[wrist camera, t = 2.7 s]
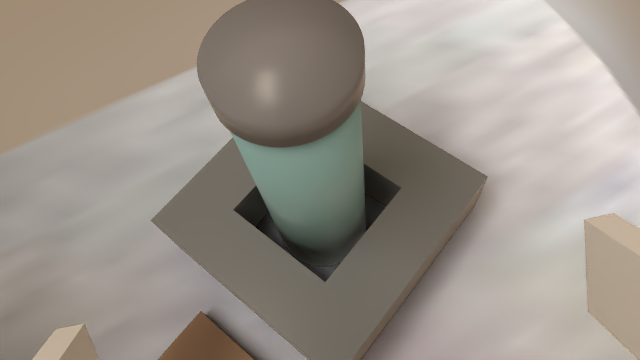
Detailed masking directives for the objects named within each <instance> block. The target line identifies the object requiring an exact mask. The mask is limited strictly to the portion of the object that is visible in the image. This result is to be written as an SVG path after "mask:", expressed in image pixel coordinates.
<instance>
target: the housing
mask: <svg viewBox="0 0 640 360" xmlns="http://www.w3.org/2000/svg"><path fill="white" fill-rule="evenodd" d="M361 115H362V139H363V164H364V188H365V192H366V193H367V194H369V195H370V196H371V197H373V198H374V199H376V200H377V201H379V202H380V203H382V204H383V205H385V206H386V208H385V209H384V210H383V211H382V213H381V214H380V215H379V216H378V218H377V219H376V220H375V221H374V223H373V224H372V225H371V226H370V227H369V229H368V230H367V231H366V232H365V234H364V235H363V236H362V237H361V239H360V240H359V241H358V242H357V244H356V245H355V246H354V247H353V248H352V250H351V251H350V252H349V253H348V255H347V256H346V257H345V258H344V260H343V261H342V262H341V263H340V265H339V266H338V267H337V268H336V269H335V271H334V272H333V273H332V274H331V276H330V277H329V278H328V279H327V281H326V282H324V281H323V280H322V279H321V278H319V277H318V276H317V275H315V274H314V273H313V272H312V271H310V270H309V269H308V268H307V267H305V266H304V265H303V264H301V263H300V262H299V261H298V260H296V259H295V258H294V257H293V256H291V255H290V254H289V253H287V252H286V251H285V250H284V249H282V248H281V247H280V246H279V245H277V244H276V243H275V242H273V241H272V240H271V239H270V238H268V237H267V236H266V235H265V234H263V233H262V232H261V231H259V230H258V229H257V228H256V227H255V226H256V225H257V224H258V223H259V222H260V221H261V220H262V219H263V217H264V216H265V215H266V214H267V213H268V212H269V211H268V208H267V206H266V204H265V202H264V200H263V198H262V196H261V194H260V192H259V190H258V188H257V186H256V184H255V182H254V180H253V178H252V175H251V173H250V171H249V169H248V167H247V165H246V163H245V161H244V159H243V157H242V155H241V153H240V151H239V149H238V147H237V144H236V142H235V140H234V138H232V139H231V140H230V141H229V142H228V143H227V144H226V145H225V146H224V147H223V148H222V149H221V150H220V151H219V152H218V153H217V154H216V155H215V156H214V157H213V158H212V159H211V160H210V161H209V162H208V163H207V164H206V165H205V166H204V167H203V168H202V169H201V170H200V171H199V172H198V173H197V174H196V175H195V176H194V177H193V178H192V179H191V180H190V182H189V183H188V184H187V185H186V186H185V187H184V188H183V189H182V190H181V191H180V192H179V193H178V194H177V195H176V196H175V197H174V198H173V199H172V200H171V201H170V202H169V203H168V204H167V205H166V206H165V207H164V208H163V209H162V210H161V211H160V212H159V213H158V214H157V215H156V216H155V217H154V218H153V219H152V220H151V221H152V222H153V223H154V224H155V225H156V226H157V227H158V228H159V229H160V230H162V231H163V232H164V233H165V234H166V235H167V236H168V237H169V238H170V239H171V240H172V241H173V242H174V243H175V244H177V245H178V246H179V247H180V248H181V249H182V250H184V251H185V252H186V253H187V254H188V255H189V256H190V257H192V258H193V259H194V260H195V261H196V262H197V263H198V264H200V265H201V266H202V267H203V268H204V269H205V270H206V271H208V272H209V273H210V274H211V275H212V276H213V277H215V278H216V279H217V280H218V281H219V282H220V283H221V284H223V285H224V286H225V287H226V288H227V289H228V290H229V291H231V292H232V293H233V294H234V295H235V296H236V297H237V298H239V299H240V300H241V301H242V302H243V303H244V304H246V305H247V306H248V307H249V308H250V309H251V310H252V311H254V312H255V313H256V314H257V315H258V316H259V317H260V318H262V319H263V320H264V321H265V322H266V323H267V324H268V325H270V326H271V327H272V328H273V329H274V330H275V331H277V332H278V333H279V334H280V335H281V336H282V337H283V338H285V339H286V340H287V341H288V342H289V343H290V344H291V345H293V346H294V347H295V348H296V349H297V350H298V351H299V352H301V353H302V354H303V355H304V356H305V357H306V358H308V359H309V360H361V359H362V357H363V356H364V355H365V353H366V352H367V351H368V349H369V348H370V347H371V345H372V344H373V342H374V341H375V340H376V338H377V337H378V336H379V334H380V333H381V332H382V330H383V329H384V328H385V326H386V325H387V323H388V322H389V321H390V319H391V318H392V317H393V315H394V314H395V313H396V311H397V310H398V309H399V307H400V306H401V305H402V303H403V302H404V300H405V299H406V298H407V296H408V295H409V294H410V292H411V291H412V290H413V288H414V287H415V286H416V284H417V283H418V281H419V280H420V279H421V277H422V276H423V275H424V273H425V272H426V271H427V269H428V268H429V267H430V265H431V264H432V262H433V261H434V260H435V258H436V257H437V256H438V254H439V253H440V252H441V250H442V249H443V248H444V246H445V245H446V244H447V242H448V241H449V239H450V238H451V237H452V235H453V234H454V233H455V231H456V230H457V229H458V227H459V226H460V225H461V223H462V222H463V220H464V219H465V218H466V216H467V215H468V214H469V212H470V211H471V210H472V208H473V207H474V206H475V204H476V201H477V199H478V197H479V195H480V193H481V190H482V188H483V186H484V184H485V181H486V179H487V176H485V175H484V174H482V173H480V172H479V171H477V170H475V169H474V168H472V167H470V166H469V165H467V164H465V163H464V162H462V161H460V160H459V159H457V158H455V157H454V156H452V155H450V154H449V153H447V152H445V151H444V150H442V149H440V148H438V147H437V146H435V145H433V144H432V143H430V142H428V141H427V140H425V139H423V138H422V137H420V136H418V135H417V134H415V133H413V132H412V131H410V130H408V129H407V128H405V127H403V126H402V125H400V124H398V123H397V122H395V121H393V120H391V119H390V118H388V117H386V116H385V115H383V114H381V113H380V112H378V111H376V110H375V109H373V108H371V107H370V106H368V105H366V104H365V103H363V102H361Z"/></svg>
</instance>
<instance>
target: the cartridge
mask: <svg viewBox="0 0 640 360" xmlns="http://www.w3.org/2000/svg"><path fill="white" fill-rule="evenodd" d="M197 72H198V76H199V80H200V83H201V85H202V88H203V90H204V92H205V94H206V96H207V98H208V100H209V102H210V104H211V106H212V107H213V109H214V111H215V113H216V115H217V117H218V118H219V120H220V121H221V123H222V124H223V125H224V126H225V127H226V128H227V129H228V130H229V131H230V132H231V134H232V136H233V138H234V140H235V142H236V144H237V147H238V149H239V151H240V153H241V155H242V157H243V159H244V161H245V163H246V165H247V167H248V169H249V171H250V173H251V175H252V178H253V180H254V182H255V184H256V186H257V188H258V190H259V192H260V194H261V196H262V198H263V200H264V202H265V204H266V206H267V208H268V211H269V213H270V215H271V217H272V219H273V221H274V223H275V225H276V227H277V229H278V231H279V233H280V235H281V237H282V239H283V242H284V244H285V245H286V247H287V249H288V250H289V251H290V252H291V254H293V255H294V256H295V257H296V258H297V259H299V260H301V261H303V262H305V263H307V264H310V265H315V266H328V265H333V264H337V263H339V262H341V261H343V260H344V258H345V257H346V256H347V255H348V253H349V252H350V251H351V250H352V248H353V247H354V246H355V245H356V244H357V242H358V241H359V240H360V239H361V237H362V236H363V235H364V234H365V230H366V212H365V188H364V164H363V139H362V115H361V97H362V95H363V91H364V86H365V48H364V39H363V35H362V32H361V29H360V27H359V25H358V23H357V22H356V20H355V19H354V17H353V16H352V15H351V14H350V13H349V12H348V11H347V10H346V9H345V8H344V7H342V6H341V5H340V4H338V3H336V2H335V1H333V0H246V1H244V2H242V3H240V4H238V5H236V6H235V7H233V8H232V9H230V10H229V11H227V12H226V13H225V14H224V15H222V16H221V17H220V18H219V19H218V20H217V21H216V22H215V23H214V24H213V26H212V27H211V28H210V29H209V31H208V32H207V34H206V36H205V37H204V39H203V41H202V44H201V46H200V49H199V53H198V59H197Z"/></svg>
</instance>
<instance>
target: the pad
mask: <svg viewBox="0 0 640 360" xmlns="http://www.w3.org/2000/svg"><path fill="white" fill-rule="evenodd" d="M158 360H254V359H253V358H252V357H251V356H250V355H249V354H248V353H247V352H246V351H245V350H244V349H243V348H241V347H240V346H239V345H238V344H237V343H236V342H235V341H234V340H233V339H232V338H231V337H229V336H228V335H227V334H226V333H225V332H224V331H223V330H222V329H221V328H220V327H219V326H217V325H216V324H215V323H214V322H213V321H212V320H211V319H210V318H209V317H208V316H207V315H205V314H204V313H202V312H200V313H199V314H198V315H197V316H196V317H195V318H194V319H193V321H192V322H191V323H190V324H189V325H188V326H187V327H186V328H185V330H184V331H183V332H182V333H181V334H180V335H179V336H178V338H177V339H176V340H175V341H174V342H173V343H172V344H171V345H170V347H169V348H168V349H167V350H166V351H165V352H164V353H163V354H162V356H161V357H160V358H159V359H158Z"/></svg>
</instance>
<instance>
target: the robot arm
mask: <svg viewBox="0 0 640 360" xmlns="http://www.w3.org/2000/svg"><path fill="white" fill-rule="evenodd" d="M584 226H585V252H586V277H587V302H588V312H589V313H590V314H591V315H592V316H593V317H594V318H595V319H596V320H597V321H598V322H600V323H601V324H602V325H603V326H604V327H605V328H606V329H607V330H608V331H609V332H610V333H611V334H612V335H613V336H614V337H615V338H616V339H617V340H618V341H619V342H620V343H621V344H623V345H624V346H625V347H626V348H627V349H628V350H629V351H630V352H631V353H632V354H633V355H634V356H635V357H636V358H637V359H638V360H640V228H638V227H636V226H635V225H633V224H631V223H629V222H628V221H626V220H624V219H622V218H621V217H619V216H617V215H615V214H614V213H613V214H609V215H604V216H599V217H594V218H589V219H585V220H584ZM32 360H99V358H98V356H97V353H96V351H95V348H94V346H93V343H92V341H91V338H90V336H89V333H88V331H87V328H86V326H85V323H84V324H79V325H74V326H69V327H64V328H60V329H55V331H54V332H53V333H52V335H51V336H50V337H49V338H48V340H47V341H46V342H45V343H44V345H43V346H42V347H41V349H40V350H39V351H38V352H37V354H36V355H35V356H34V358H33V359H32Z"/></svg>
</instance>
